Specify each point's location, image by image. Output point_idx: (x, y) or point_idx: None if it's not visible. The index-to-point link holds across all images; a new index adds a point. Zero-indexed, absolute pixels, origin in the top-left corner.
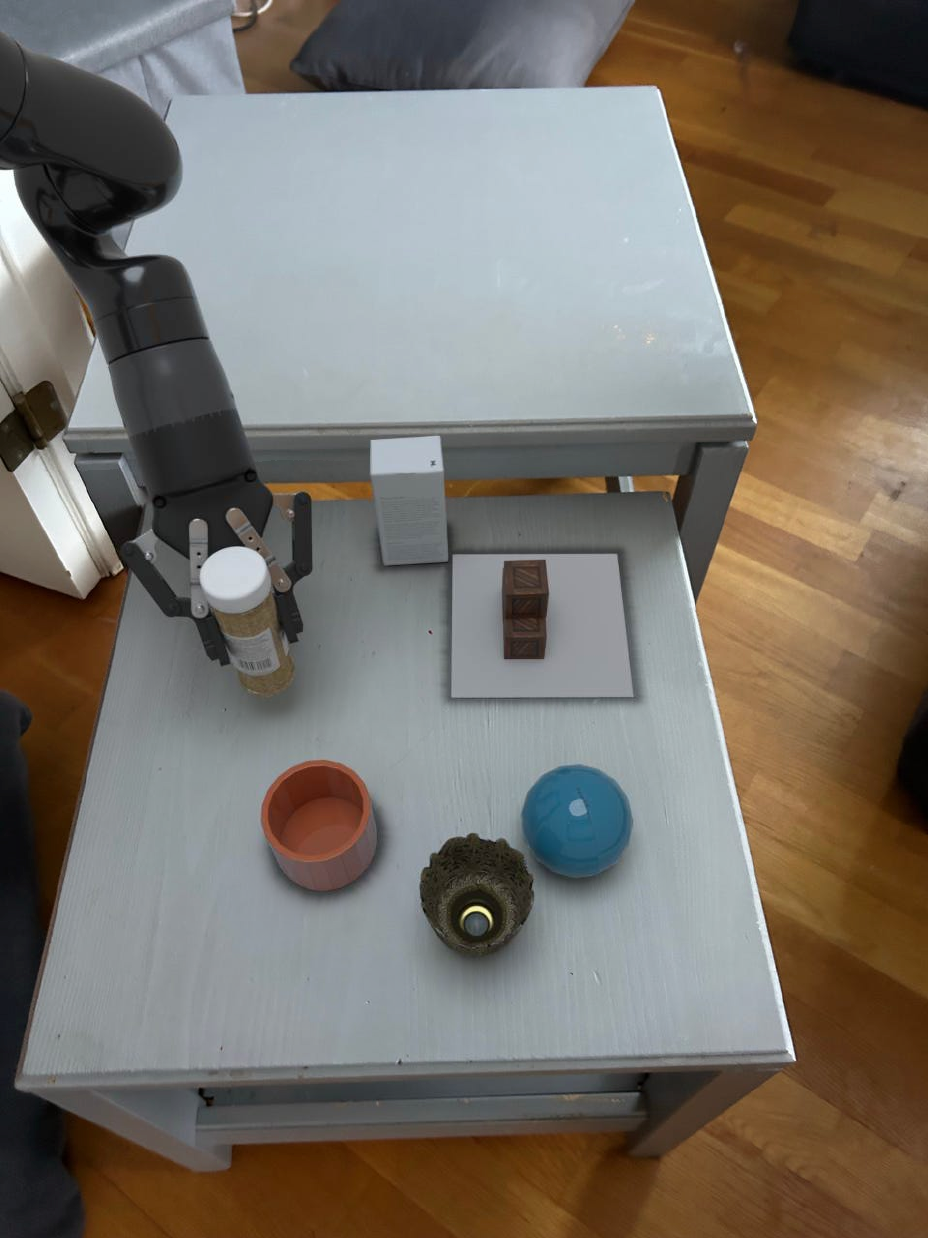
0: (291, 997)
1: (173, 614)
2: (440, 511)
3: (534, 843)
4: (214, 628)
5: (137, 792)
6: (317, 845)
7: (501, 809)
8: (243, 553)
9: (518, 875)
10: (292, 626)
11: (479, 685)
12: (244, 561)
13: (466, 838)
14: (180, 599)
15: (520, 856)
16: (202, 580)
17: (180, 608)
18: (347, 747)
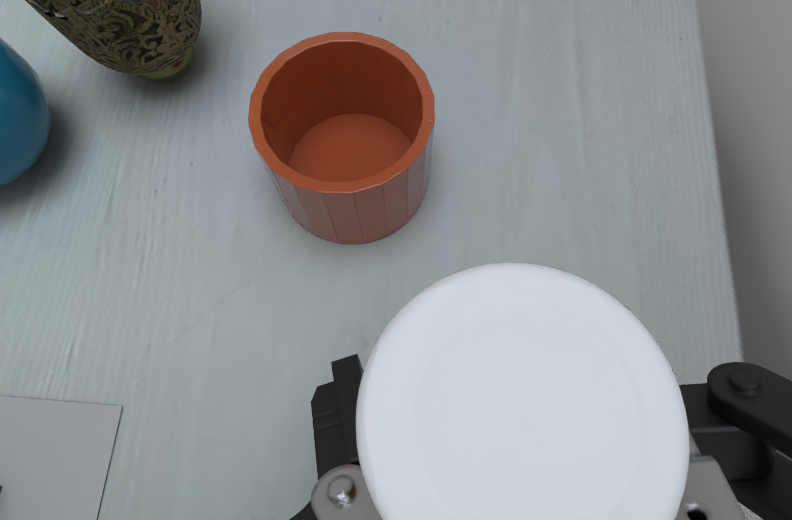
0: (400, 2)
1: (727, 369)
2: None
3: (11, 57)
4: None
5: (654, 271)
6: (365, 162)
7: (92, 202)
8: None
9: (45, 6)
10: (338, 383)
11: (65, 428)
12: (469, 479)
13: (90, 19)
14: (721, 430)
15: None
16: (665, 369)
17: (709, 392)
18: (315, 323)
